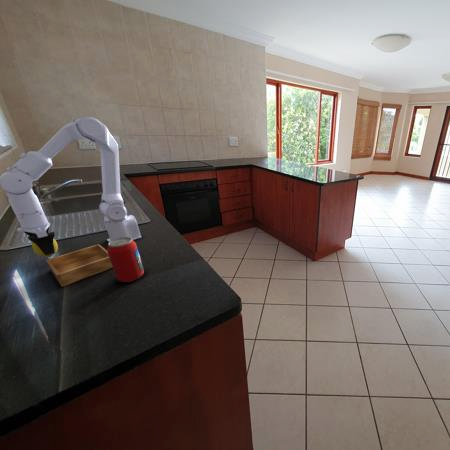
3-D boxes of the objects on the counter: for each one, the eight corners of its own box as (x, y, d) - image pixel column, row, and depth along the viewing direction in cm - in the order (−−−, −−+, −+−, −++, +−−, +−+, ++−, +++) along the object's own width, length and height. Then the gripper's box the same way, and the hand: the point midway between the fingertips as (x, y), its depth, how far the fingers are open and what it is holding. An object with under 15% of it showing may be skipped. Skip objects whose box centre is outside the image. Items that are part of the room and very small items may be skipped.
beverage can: (150, 273, 73) (140, 238, 68) (129, 286, 67) (116, 248, 62) (133, 268, 75) (123, 234, 70) (112, 281, 69) (98, 244, 64)
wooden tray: (102, 253, 83) (98, 243, 82) (116, 266, 76) (113, 255, 74) (50, 270, 73) (45, 259, 72) (61, 286, 66) (56, 275, 65)
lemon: (47, 262, 75) (36, 239, 72) (33, 260, 76) (22, 237, 73) (66, 253, 80) (56, 232, 77) (53, 251, 81) (43, 230, 78)
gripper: (6, 210, 73) (26, 249, 78) (13, 221, 65) (34, 263, 70) (38, 204, 78) (55, 241, 83) (48, 214, 70) (66, 254, 75)
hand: (47, 251), depth 77 cm, fingers closed on lemon, 5 cm apart
